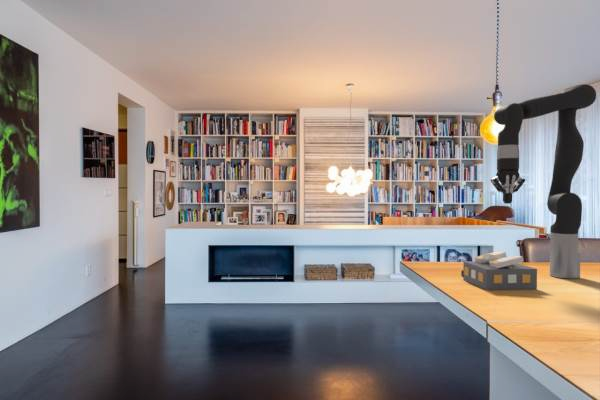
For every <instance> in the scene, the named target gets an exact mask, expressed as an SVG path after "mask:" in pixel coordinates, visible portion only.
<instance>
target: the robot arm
mask: <svg viewBox="0 0 600 400" xmlns="http://www.w3.org/2000/svg"><path fill="white" fill-rule="evenodd" d="M596 99H597V92H596V89H595V88H594V87H593V86H592V85H590V84H587V83H585V84H584V83H583V84H578V85H575V86H571V87H567V88H565V89H563V90H561V92H560V93H557V94H552V95H547V96H541V97H537V98H536V97H535V98H531V99H527V100H523V101H521V102H519V103H517V102H513V103H510V104H509V103H508V104H507V105H503V106H500V107H498V108H497V109H496V110H495V112H494V114H493V119H494V121H495V122H496V123H497V124H498V125H501V126H502V125H503V126H504V127H503V129H502V130H500V131H499V132H498V134H497V150H496V174H495V176H494V177H493V178H490V183H491V184H492V185H493V187H494V188H495V189H496V190H497V192H499V193H502V202H503V203H504V204H509V205H510V204H512V203H513V194H514V193H517V192H518V191H519V189H520V188H521V187H522V186H523V185H524V184H525V182H526V179H525V178H522V177H521V176H520V173H519V169H520V147H519V145H520V144H519V143H520V141H519V139H520V137H519V136H520V135H519V134H520V131H521V129H522V125H523V120H529V119H534V118H538V117H542V116H545V115H549V114H551V113H556V112H557V113H558V114H557V115H558V116H557V117H558V118H557V121H558V122H557V133H556V134H557V135H556V136H557V137H556V144H555V148H554V149H555V152H554V159H553V160H554V162H553V170H552V179H551V184H550V188H549V192H548V196H547V200H546V201H547V202H546V205H547V209H548V211H549V212H550V213H551V214H553V215H555V216H556V217H555V221H554V223H553V224H552V225H550V239H549V241H550V243H549V245H550V247H549V276H550V277H553V278H554V277H555V278H561V279H571V280H572V279H579V278H581V253H580V252H579V230H580V228H581V226H582V216H583V215H582V213H583V203H582V202H583V201H582V199H581V197H580V196H579V195H577V194H576V193H574V192H571V188H572V181H573V179H574V178H575V175H576V174H577V171H578V169H579V167H580V165H581V163H582V160H583V156H584V146H585V143H584V140H583V137H582V135H581V132H580V131H579V130H578V126H577V122H576V120H577V111H578V110H582V109H586V108H589V107H590V106H592V105H593V104H594V102H595V101H596Z"/></svg>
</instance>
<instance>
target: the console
mask: <svg viewBox="0 0 600 400" xmlns="http://www.w3.org/2000/svg"><path fill="white" fill-rule="evenodd" d="M462 268H463V277H462V278H463V280H462V281H465V282H466V283H469V284H472V285H474V286H476V287H478V288H481V289H482V290H485V291H511V290H512V291H516V290H517V291H521V290H522V291H523V290H526V291H527V290H528V291H529V290H531V291H532V290H537V287H538V268H535V267H531V266H528V265H525V264H524V265H523V264H521V263H517V264H515V266H513V265H509V266H505V267H501V268H497V269H496V268H493V267H490V264H489V262H486V263H482V264H481V263H478V262H475V260H474V261H471V260H470V261H469V260H468V261H467V260H466V261H464V260H463V267H462Z"/></svg>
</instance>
